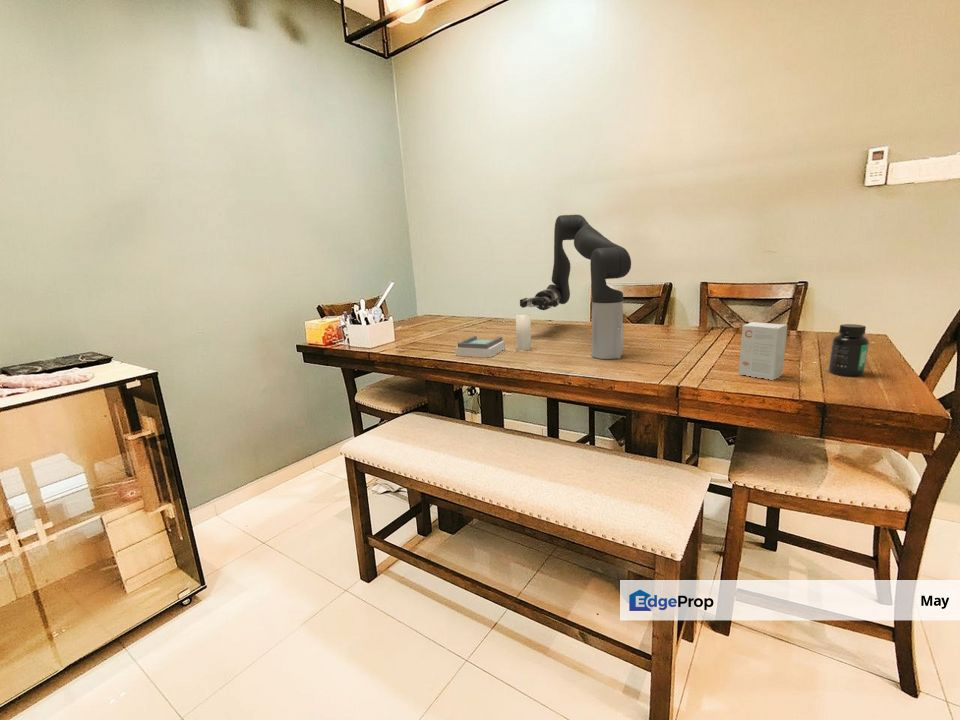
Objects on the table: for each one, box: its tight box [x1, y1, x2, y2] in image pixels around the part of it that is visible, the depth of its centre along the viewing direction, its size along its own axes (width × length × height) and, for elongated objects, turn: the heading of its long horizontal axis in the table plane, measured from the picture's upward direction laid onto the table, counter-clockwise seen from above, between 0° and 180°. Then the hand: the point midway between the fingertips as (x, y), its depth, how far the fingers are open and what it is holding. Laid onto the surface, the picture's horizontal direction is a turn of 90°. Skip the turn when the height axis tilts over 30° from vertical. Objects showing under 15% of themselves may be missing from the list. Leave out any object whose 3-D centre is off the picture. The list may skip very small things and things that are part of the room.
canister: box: [515, 313, 532, 351], centre depth 153 cm, size 5×5×12 cm
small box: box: [738, 321, 788, 381], centre depth 110 cm, size 8×6×13 cm
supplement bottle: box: [828, 323, 870, 378], centre depth 108 cm, size 7×7×12 cm
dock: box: [454, 335, 506, 359], centre depth 153 cm, size 13×13×4 cm
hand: (533, 305), depth 162 cm, fingers open, 8 cm apart
